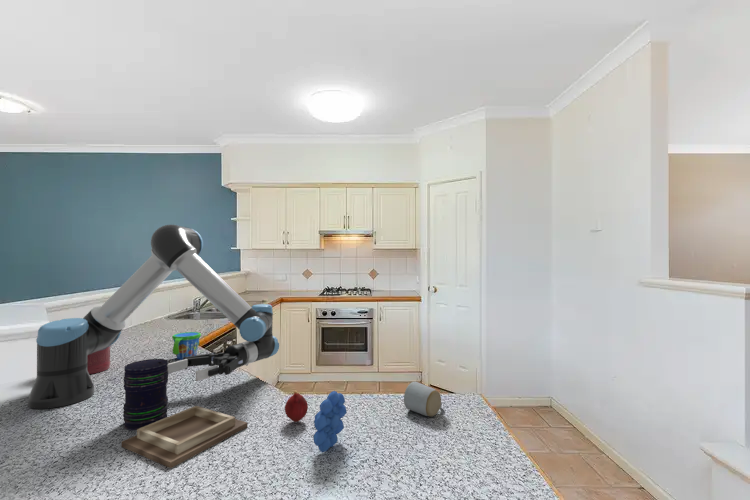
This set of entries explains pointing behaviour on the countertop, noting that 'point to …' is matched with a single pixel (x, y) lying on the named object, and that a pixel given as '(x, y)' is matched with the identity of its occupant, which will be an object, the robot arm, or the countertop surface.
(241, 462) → the countertop surface
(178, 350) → the snack cup
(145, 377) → the dark blue barrel
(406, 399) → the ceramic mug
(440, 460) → the countertop surface
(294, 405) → the onion
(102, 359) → the canister
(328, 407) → the grapes
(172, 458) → the base board
